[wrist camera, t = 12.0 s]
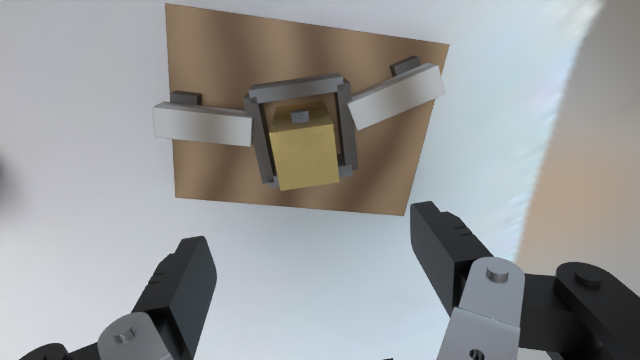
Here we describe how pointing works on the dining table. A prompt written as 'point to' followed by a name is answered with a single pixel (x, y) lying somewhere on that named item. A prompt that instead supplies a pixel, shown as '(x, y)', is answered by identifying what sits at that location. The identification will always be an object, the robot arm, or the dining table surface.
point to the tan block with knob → (304, 145)
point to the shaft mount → (287, 89)
